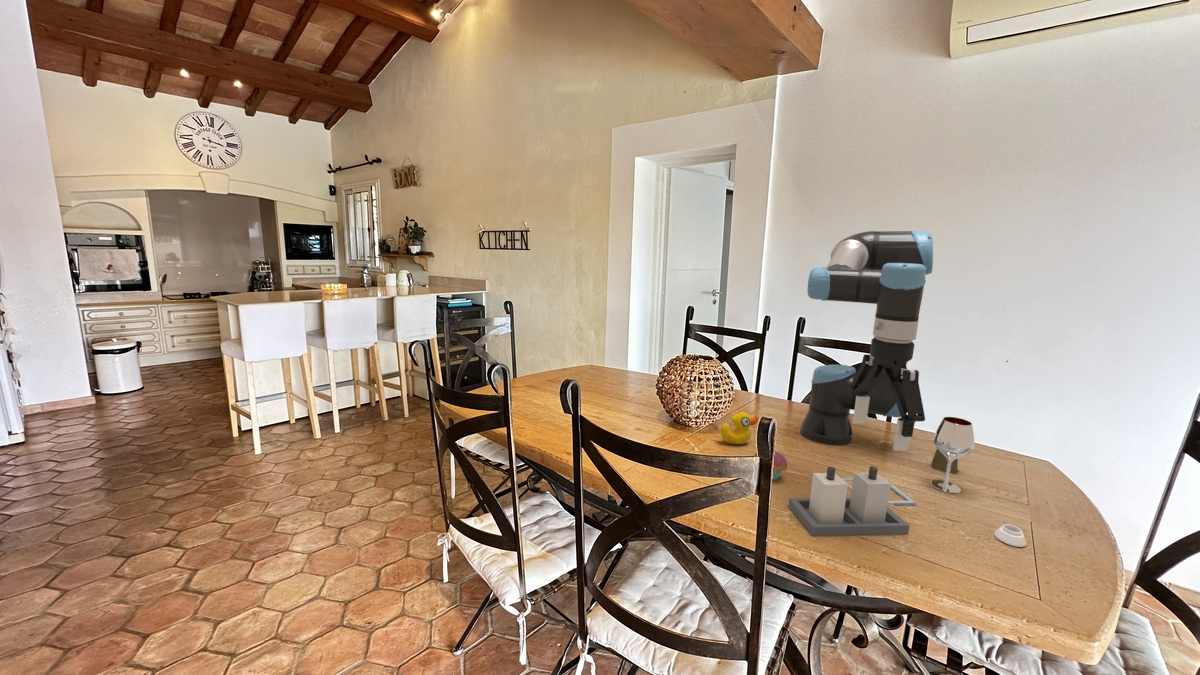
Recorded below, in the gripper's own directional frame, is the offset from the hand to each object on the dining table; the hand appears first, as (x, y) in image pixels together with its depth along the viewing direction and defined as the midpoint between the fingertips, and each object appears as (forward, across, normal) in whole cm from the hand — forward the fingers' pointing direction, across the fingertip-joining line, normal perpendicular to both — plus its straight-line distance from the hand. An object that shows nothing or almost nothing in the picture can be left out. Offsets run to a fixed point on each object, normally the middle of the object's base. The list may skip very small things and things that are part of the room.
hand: (878, 435), depth 99 cm
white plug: (+20, 0, -10) cm, 22 cm away
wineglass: (+21, -14, +30) cm, 39 cm away
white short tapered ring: (+21, +8, +27) cm, 35 cm away
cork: (+21, -24, +38) cm, 50 cm away
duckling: (+21, -41, -15) cm, 48 cm away
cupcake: (+21, -20, -14) cm, 32 cm away
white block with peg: (+20, 0, 0) cm, 20 cm away
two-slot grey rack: (+20, 0, -5) cm, 21 cm away
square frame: (+20, -12, +10) cm, 26 cm away
